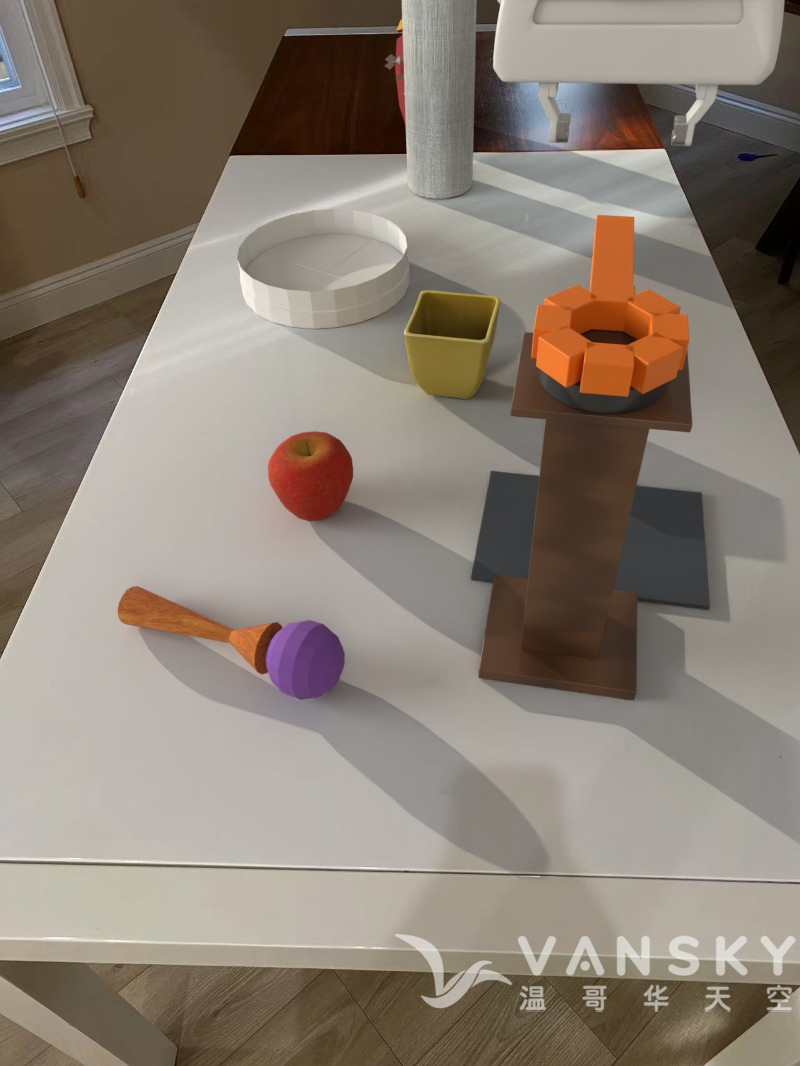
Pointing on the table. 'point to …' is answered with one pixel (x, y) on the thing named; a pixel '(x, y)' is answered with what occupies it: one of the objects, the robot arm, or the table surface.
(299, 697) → the kendama
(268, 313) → the dish
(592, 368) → the orange ring
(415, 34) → the vase
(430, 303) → the flower pot
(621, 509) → the stand
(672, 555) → the mat
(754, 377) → the table surface
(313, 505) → the apple
